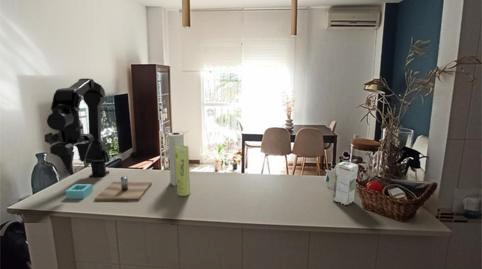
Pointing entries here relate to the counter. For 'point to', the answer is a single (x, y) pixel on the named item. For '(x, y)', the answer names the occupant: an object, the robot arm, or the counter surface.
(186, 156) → the tube
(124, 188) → the post
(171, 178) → the paper towel roll
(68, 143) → the robot arm
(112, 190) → the base plate
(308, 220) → the counter surface
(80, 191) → the ring
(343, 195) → the syrup box
